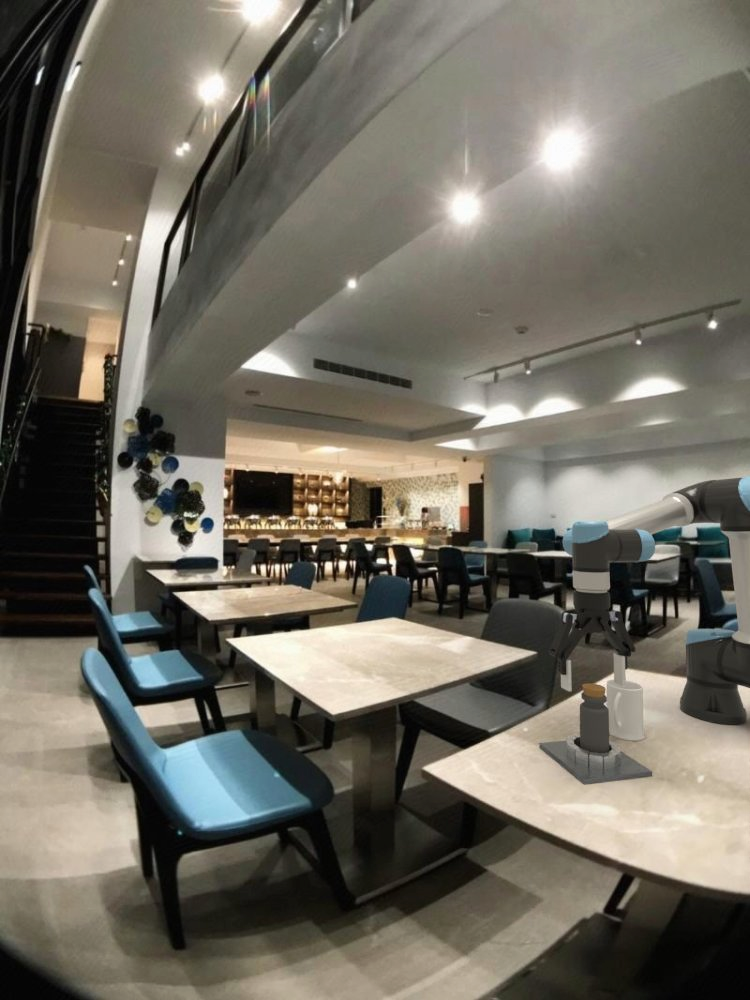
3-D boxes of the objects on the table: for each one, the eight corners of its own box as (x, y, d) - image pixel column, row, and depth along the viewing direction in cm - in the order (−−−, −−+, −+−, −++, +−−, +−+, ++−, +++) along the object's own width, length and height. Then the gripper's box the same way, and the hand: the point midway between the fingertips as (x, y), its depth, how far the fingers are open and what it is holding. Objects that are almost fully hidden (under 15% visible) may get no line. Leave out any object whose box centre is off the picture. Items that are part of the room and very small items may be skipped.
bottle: (607, 765, 101) (606, 693, 101) (577, 757, 104) (577, 687, 105) (611, 754, 106) (610, 685, 106) (582, 747, 109) (582, 680, 110)
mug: (630, 748, 111) (629, 696, 111) (593, 735, 117) (593, 686, 118) (650, 734, 119) (649, 685, 119) (614, 723, 125) (614, 676, 126)
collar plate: (599, 741, 114) (599, 726, 114) (652, 776, 99) (651, 758, 99) (539, 747, 111) (539, 732, 111) (584, 784, 95) (584, 766, 95)
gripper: (626, 586, 113) (629, 677, 112) (531, 589, 107) (533, 685, 106) (651, 590, 106) (654, 687, 105) (551, 594, 100) (553, 697, 99)
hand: (593, 686), depth 106 cm, fingers open, 13 cm apart
